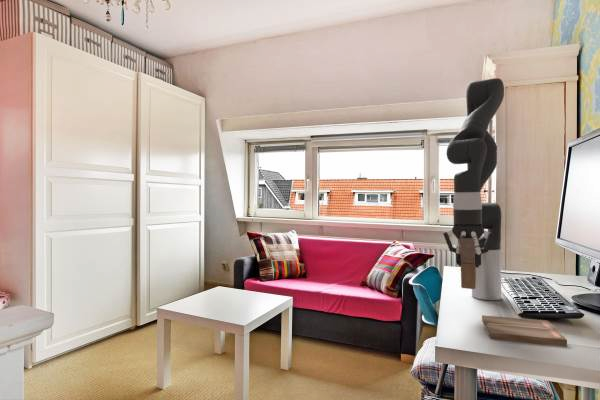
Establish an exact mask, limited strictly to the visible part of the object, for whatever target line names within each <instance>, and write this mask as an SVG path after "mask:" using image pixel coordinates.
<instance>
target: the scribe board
mask: <svg viewBox="0 0 600 400" xmlns="http://www.w3.org/2000/svg"><path fill="white" fill-rule="evenodd" d="M481 321H482V323H483V325H484V327H485V330H486V332H487V334H488V337H489V339H490V340H491V339H492V340H502V341H509V342H510V341H511V342H522V343H532V344H541V345H542V344H543V345H550V346H551V345H552V346H562V347H563V346H564V347H567V346H568V340H567V338H566V337H565V336H564V335H563V334H562V333H561V332H560V331H559V330H558V329H557V328H556V327H555V326H554V325H553V324H552V323H551V322H550V321H549V320H545V319H533V318H521V317H520V318H519V317H508V316H497V315H495V316H494V315H484V314H482V315H481Z"/></svg>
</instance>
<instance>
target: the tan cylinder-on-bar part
mask: <svg viewBox="0 0 600 400" xmlns="http://www.w3.org/2000/svg"><path fill="white" fill-rule="evenodd" d="M460 249H461V267H460V283H461V284H460V287H461V289H469V290H472V289H475V286H476V267H475V254H476V251H475V239H474V238H460Z"/></svg>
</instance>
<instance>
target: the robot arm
mask: <svg viewBox="0 0 600 400" xmlns="http://www.w3.org/2000/svg"><path fill="white" fill-rule="evenodd" d="M465 96H466V114H467V115H466V116H467V117H466V118H465V119H464V122H463V124H462V127H461V129H460V131H459V132H458V133H457V134H456V135H455V136H454V137H453V138H452V139H451V140H450V142H449V143H448V146H447V148H446V158H447V160H448V161H449V163H451V164H453V165H462V164H463V165H464V164H467V166H466V167H467V170H465V171H460V172H457V173H455V174H454V176H453V192H454V194H453V200H452V201H453V203H452V204H453V205H452V207H453V227H452V228H451V230H448V231H443V234H442V235H443V238H444V240H445V242H446V246H447V248H448V250H449V251H450V252H451V253H455V263H456V265H458V267H460V268H461V249H460V238H474V239H475V251H476V254H475V267H476V286H475V289H471V297H473V298H475V299H477V300H483V301H500V300H501V299H502V263H501V262H502V261H501V260H502V257H501V255H502V254H501V238H502V236H501V234H502V209H501V207H500V205H499V203H496V202H483V198H482V195H481V194H482V193H481V192H482V189H483V188H484V185H485V184H486V182H488V180H489V179H490V177H491V176H492V174H494V171H495V170H496V168H497V165H498V145H497V143H496V141H495V139H494V137H493V136H492V135H491V133H490V132H489V131H488V128H489V125H490V122H491V121H492V119H493V118H494V116H495V114H496V113H497V112H498V109H499V108H500V107H501V105H502V103H503V100H504V96H505V86H504V82H503V80H502V79H501V78H499V77H497V78H494V77H493V78H487V79H481V80H475V81H471V82H468V85H467V88H466V95H465ZM452 234H453V235H454V237H455V238H456V239H457V244H456V247H453V244H452V241H451V239H452V237H453V236H452Z"/></svg>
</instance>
